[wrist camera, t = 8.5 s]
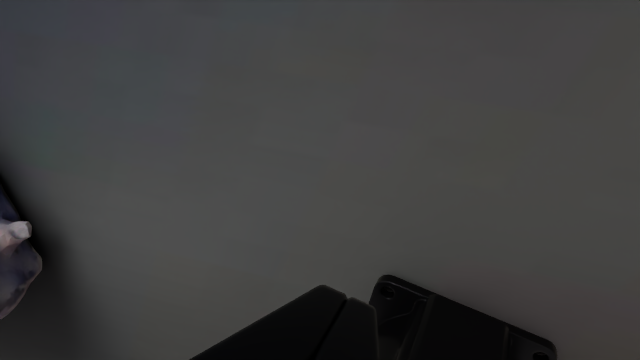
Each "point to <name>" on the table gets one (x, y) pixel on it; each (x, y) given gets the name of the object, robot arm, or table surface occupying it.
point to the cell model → (15, 256)
